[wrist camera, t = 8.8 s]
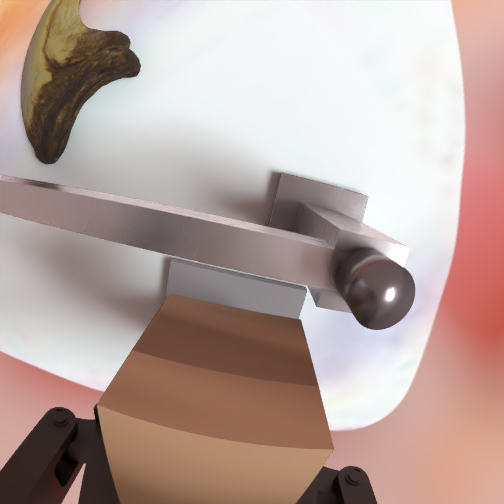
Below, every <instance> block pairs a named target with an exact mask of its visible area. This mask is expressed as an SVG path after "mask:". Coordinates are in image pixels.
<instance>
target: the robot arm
mask: <svg viewBox="0 0 504 504" xmlns="http://www.w3.org/2000/svg"><path fill="white" fill-rule="evenodd" d="M97 404H98V403H97ZM97 404H96V405H95V407H94V414H95V420H87V419H80V418H76V417H75V415H74V414H73V412H71V411H70V410H69V409H66V408H63V407H55V408H52V409H50V410H49V411H48V412H47V413H46V414H45V415H44V417H43V418H42V419H41V420H40V421H39V422H38V424H37V425H36V426H35V427H34V429H33V430H32V431H31V432H30V433H29V435H28V436H27V437H26V439H25V440H24V441H23V442H22V444H21V445H20V446H19V448H18V449H17V450H16V451H15V453H14V454H13V455H12V456H11V458H10V459H9V460H8V462H7V463H6V464H5V466H4V467H3V468H2V470H1V471H0V504H61V503H62V501H63V499H64V498H65V496H66V494H67V492H68V491H69V489H70V487H71V485H72V483H73V482H74V480H75V478H76V476H77V475H78V473H79V471H80V469H81V468H82V466H83V464H84V463H85V464H86V466H85V471H84V475H83V480H82V486H81V491H80V497H79V502H78V504H120V501H119V497H118V494H117V491H116V488H115V484H114V481H113V477H112V474H111V470H110V466H109V462H108V458H107V454H106V449H105V445H104V440H103V436H102V431H101V425H100V420H99V414H98V409H97ZM295 504H377V501H376V498H375V495H374V492H373V489H372V487H371V484H370V481H369V478H368V476H367V474H366V472H364V471H363V470H362V469H361V468H358V467H354V466H348V467H344V468H343V469H341V470H340V471H338V470H334V469H330V468H327V467H324V466H323V467H322V468H321V470H320V471H319V473H318V474H317V475H316V477H315V478H314V480H313V481H312V482H311V484H310V485H309V486H308V488H307V489H306V491H305V492H304V493H303V494H302V496H301V497H300V498H299V500H298V501H297V502H296V503H295Z"/></svg>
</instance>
